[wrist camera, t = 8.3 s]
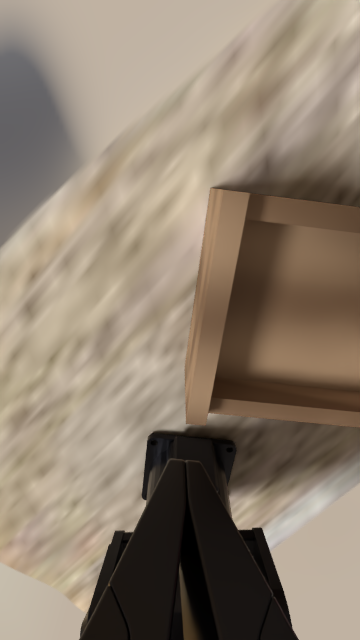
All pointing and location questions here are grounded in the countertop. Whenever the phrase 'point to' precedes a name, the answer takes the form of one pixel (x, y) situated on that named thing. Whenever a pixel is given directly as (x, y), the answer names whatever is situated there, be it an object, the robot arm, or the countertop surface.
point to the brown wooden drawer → (276, 312)
